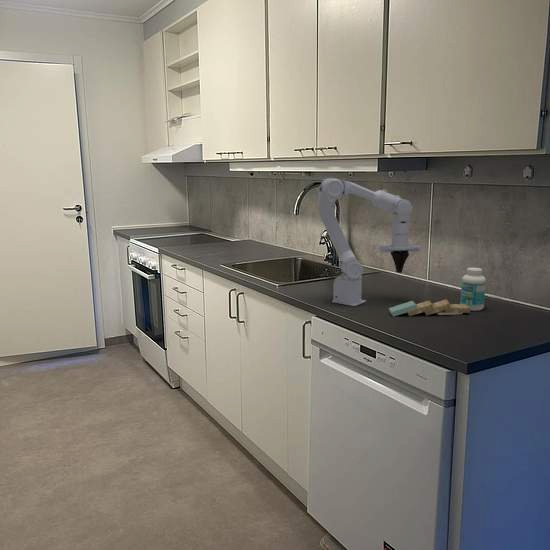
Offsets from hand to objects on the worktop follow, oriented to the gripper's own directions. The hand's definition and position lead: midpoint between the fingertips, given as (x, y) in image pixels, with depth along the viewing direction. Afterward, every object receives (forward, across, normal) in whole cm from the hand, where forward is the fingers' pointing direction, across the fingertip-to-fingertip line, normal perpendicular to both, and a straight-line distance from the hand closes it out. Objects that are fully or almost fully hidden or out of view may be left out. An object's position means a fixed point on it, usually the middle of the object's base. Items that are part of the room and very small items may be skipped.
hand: (398, 272), depth 186 cm
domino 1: (+10, -8, -17) cm, 21 cm away
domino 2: (+10, -2, -17) cm, 20 cm away
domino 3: (+10, +3, -17) cm, 20 cm away
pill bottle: (+11, +21, -13) cm, 27 cm away
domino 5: (+9, +10, -17) cm, 21 cm away
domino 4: (+11, +7, -17) cm, 21 cm away
